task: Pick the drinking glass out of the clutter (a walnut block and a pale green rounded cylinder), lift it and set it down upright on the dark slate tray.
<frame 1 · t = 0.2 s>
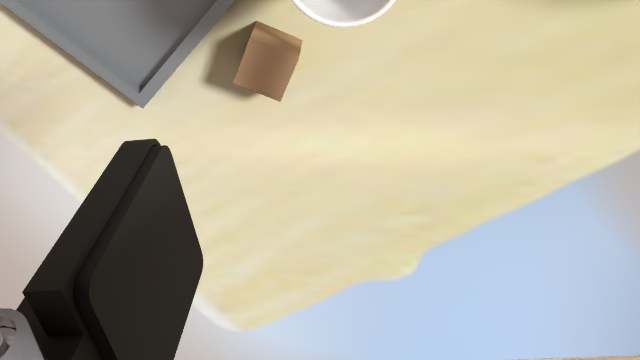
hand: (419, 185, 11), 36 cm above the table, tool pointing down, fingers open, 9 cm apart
walnut block: (271, 51, 47), on the table
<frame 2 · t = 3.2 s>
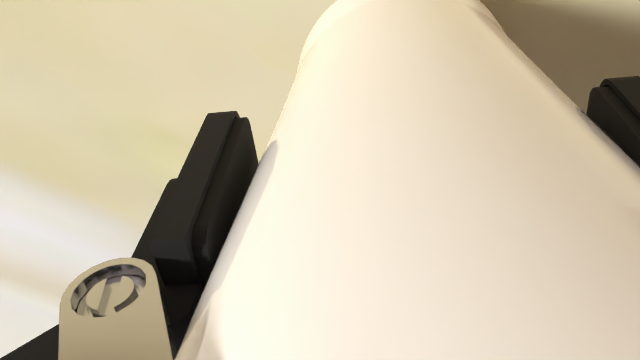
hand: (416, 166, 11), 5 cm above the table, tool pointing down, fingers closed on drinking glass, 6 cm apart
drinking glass: (399, 68, 15), on the table, touching gripper
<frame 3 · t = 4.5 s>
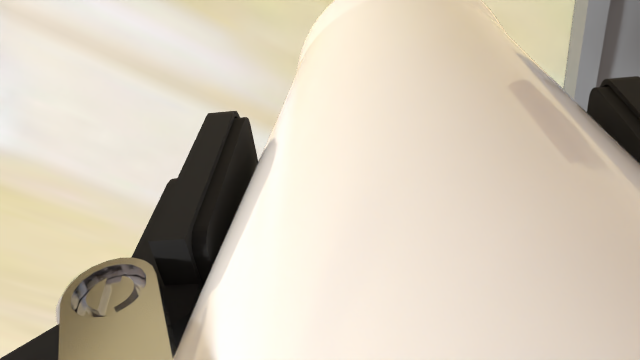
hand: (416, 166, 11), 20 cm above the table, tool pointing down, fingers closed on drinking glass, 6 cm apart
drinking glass: (399, 67, 15), point 15 cm above the table, touching gripper
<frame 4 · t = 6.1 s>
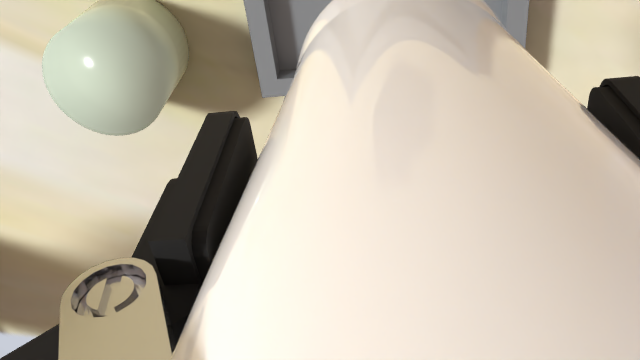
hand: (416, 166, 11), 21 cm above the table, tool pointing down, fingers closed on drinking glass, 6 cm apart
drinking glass: (399, 65, 15), point 16 cm above the table, touching gripper
pale green rounded cylinder: (136, 45, 32), on the table
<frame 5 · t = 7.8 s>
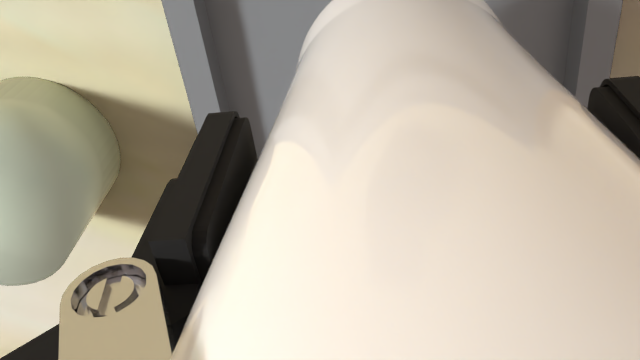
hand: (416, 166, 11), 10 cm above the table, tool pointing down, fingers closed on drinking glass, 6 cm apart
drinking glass: (399, 65, 15), point 5 cm above the table, touching gripper
slate tray: (386, 12, 19), on the table
pale green rounded cylinder: (46, 144, 23), on the table
when the fingers open (6 cm above the table, at t = 9.2 s): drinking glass stays where it is, resting on slate tray.
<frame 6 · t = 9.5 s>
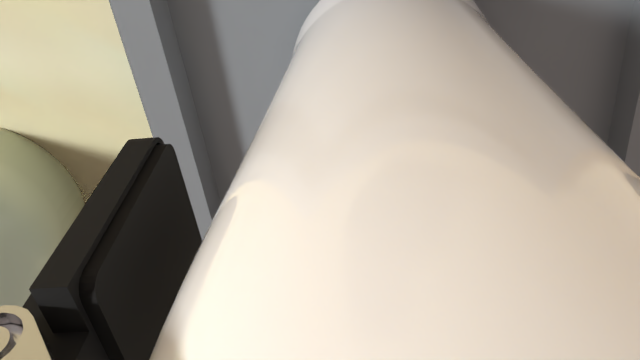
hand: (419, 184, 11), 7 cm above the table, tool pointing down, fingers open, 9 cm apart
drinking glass: (390, 58, 16), resting on slate tray
slate tray: (397, 52, 16), on the table
pale green rounded cylinder: (0, 198, 20), on the table
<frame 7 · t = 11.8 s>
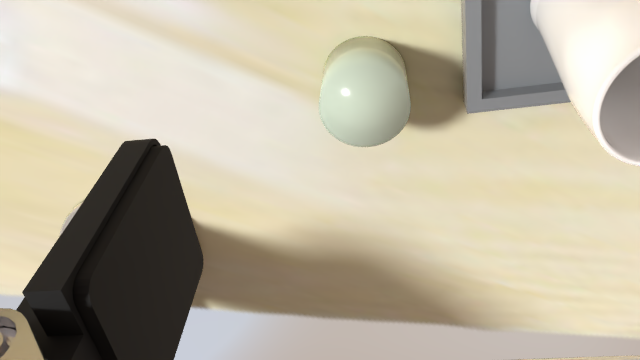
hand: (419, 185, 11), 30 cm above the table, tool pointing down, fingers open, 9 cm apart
pale green rounded cylinder: (364, 75, 41), on the table
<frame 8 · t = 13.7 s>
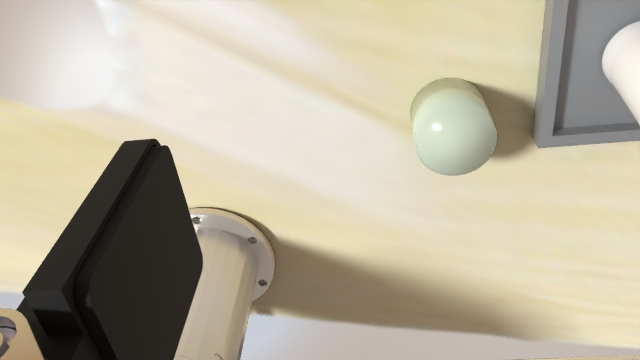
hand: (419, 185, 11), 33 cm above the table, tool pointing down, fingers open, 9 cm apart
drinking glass: (635, 51, 42), resting on slate tray
slate tray: (636, 48, 43), on the table
pale green rounded cylinder: (447, 111, 46), on the table
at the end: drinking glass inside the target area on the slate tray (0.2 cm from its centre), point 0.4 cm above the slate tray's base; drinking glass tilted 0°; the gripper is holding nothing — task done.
